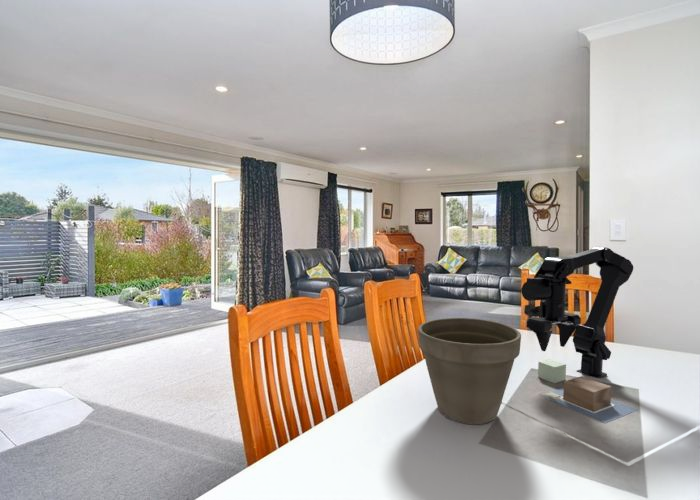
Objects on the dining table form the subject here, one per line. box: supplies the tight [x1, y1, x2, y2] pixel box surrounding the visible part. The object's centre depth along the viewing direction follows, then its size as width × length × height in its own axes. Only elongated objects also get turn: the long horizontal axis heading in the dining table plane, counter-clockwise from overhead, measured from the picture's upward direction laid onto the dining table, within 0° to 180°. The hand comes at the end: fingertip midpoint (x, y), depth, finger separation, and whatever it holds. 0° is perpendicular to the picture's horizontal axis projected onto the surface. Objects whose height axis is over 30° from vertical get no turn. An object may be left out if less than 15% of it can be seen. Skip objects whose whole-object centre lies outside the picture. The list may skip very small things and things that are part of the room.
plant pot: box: [417, 317, 522, 425], centre depth 101 cm, size 25×25×22 cm
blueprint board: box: [538, 386, 639, 424], centre depth 107 cm, size 15×18×1 cm
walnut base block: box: [563, 376, 612, 411], centre depth 106 cm, size 8×8×5 cm
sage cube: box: [537, 358, 567, 384], centre depth 123 cm, size 6×6×6 cm
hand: (553, 348), depth 122 cm, fingers open, 9 cm apart
